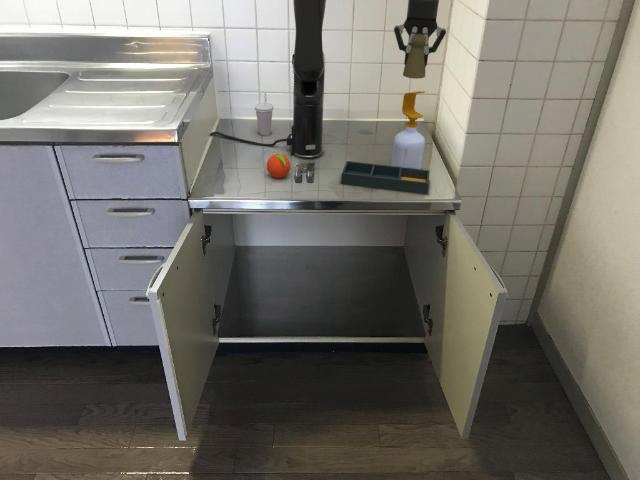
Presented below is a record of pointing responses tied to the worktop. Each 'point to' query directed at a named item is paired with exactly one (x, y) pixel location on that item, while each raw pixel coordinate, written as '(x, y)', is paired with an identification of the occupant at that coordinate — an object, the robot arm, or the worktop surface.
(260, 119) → the smoothie
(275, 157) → the clementine
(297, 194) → the worktop surface
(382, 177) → the tray
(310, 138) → the robot arm
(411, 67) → the cork
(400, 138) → the soap bottle
